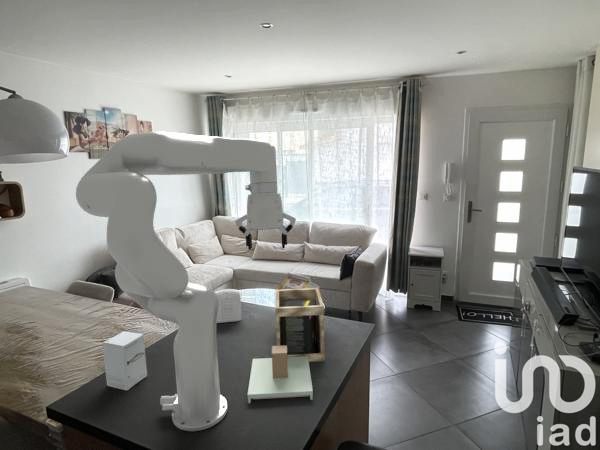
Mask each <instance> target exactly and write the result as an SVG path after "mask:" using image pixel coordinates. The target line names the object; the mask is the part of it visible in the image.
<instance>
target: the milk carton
mask: <svg viewBox="0 0 600 450" xmlns="http://www.w3.org/2000/svg"><path fill="white" fill-rule="evenodd" d="M308 288H318V289H319V292H320V293H321V291H320V290H321V289H320V288H321V287H320V286H319V285H318V284H316V283H315V282H312V281H311V277H309V276H305V275H301V274H296V273H292V272H287V277H286V278H285V279H284V280H283V281H282V283H281V284H280V285H279V286H278V289H277V290H284V289H308Z"/></svg>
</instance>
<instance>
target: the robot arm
mask: <svg viewBox="0 0 600 450" xmlns="http://www.w3.org/2000/svg"><path fill="white" fill-rule="evenodd" d="M246 172H247V173H248V172H249V184H247V185H246V184H245V185H244V187H245V188H244V189H245V190H246V191H249V192H250V193H249V194H247V199H246V200H247V202H246V214H244V215H242V216H241V217H239V218H237V219H236V220H235V221H234V224H235V225H236V226H237V228H238V230H239V231H240V232H241V233H242V234H243V235H244V236H245V245H246V247H248V250H252V249H253V239H252V238H253V237H252V233H251V232H252V231H258V230H259V231H260V230H261V231H262V230H264V231H266V230H278V229H279V231H280V232H281V248H282V249H285V248H286V246H287V245H288V236H287V235H288V234H289V232H290V231H291V230H292V229H293V227H294V226H295V223H296V221H297V219H296V217H294V216H292V215H290V214H287V213H285V212H284V208H283V202H282V197H281V193H280V192H278V175H277V172H278V171H277V151H276V147H275V145H274V144H272V143H270V142H268V141H266V140H263V139H262V140H261V139H260V140H259V139H251V138H235V137H233V138H232V137H223V136H210V135H198V134H189V133H180V132H168V131H148V132H140V133H132V134H128V135H126V136H124V137H123V138H121V139H119V140H118V141H117V142H116V143H115V144H114V145H113V146H112V147H111V148H110V149H109V150H108V151H106V153H105V154H104V155H102V156H101V158H100V159H98V161H97V162H96V163H94V165H93V166H91V168H89V169H88V170H87V171H86V172H85V173H84V174H83V176H82V177H81V178H80V180H79V182H78V183H77V186H76V188H75V199H76V202H77V204H78V205H79V206H80V208H81V209H82V211H84V212H86V213H87V214H90V215H92V216H94V217H99V218H100V217H101V218H107V225H106V247H107V250H108V253H109V254H110V256H111V258H113V260H114V261H115V262H116V265H115V270H114V276H115V281H116V283H117V285H118V287H119V288H120V290H121V291H123V293H124V294H126V295H127V296H128V297H129V298H130V299H132V300H133V301H134V302H135V303H136V304H137V305H139V306H140V307H141V308H142V309H143V310H144V311H146V312H147V313H148V314H149V315H151V316H153V317H155V318H158V319H161V320H163V321H167V322H171V323H173V324H175V325H177V326H178V330H177V333H176V335H175V337H174V340H173V346H172V347H173V349H172V351H173V357H174V358H173V359H174V369H175V381H176V392H177V393H175V394H174V395H161V396H160V399H159V402H160V403H159V405H160V406H162V407H161V409H162V411H172V413H171V418H172V419H171V420H172V423H173V425H174V426H175V427H176V428H177V429H179V430H181V431H182V430H183V431H186V432H197V431H203V430H206V429H210V428H212V427H213V426H215V425H217V424H218V423H219V422H221V421H222V420H223V419H224V418H225V416H226V414H227V413H228V401H227V399H226V397H224V396H223V395H222V394H221V389H220V375H219V374H220V372H219V357H218V346H217V345H218V343H217V342H218V341H217V324H218V323H217V316H218V309H219V301H218V297H217V295H216V293H215V292H216V291H215V290H213V289H212V288H211V287H209V286H207V285H205V284H201V283H198V282H192V281H189V273H188V271H187V269H186V267H185V265H184V263H182V262H181V260H180V259H179V258H178V257H177V256H176V255H175V254H174V253H173V252H172V251H171V250H170V249H169V248H168V246H167V245H166V244H165V243H164V241H163V240H161V238H160V237H159V236H158V234H157V233H156V230H155V227H154V219H155V213H156V207H157V202H158V201H157V199H158V197H157V196H158V195H157V190H156V188H155V185H154V183H153V181H151V180H150V178H148V177H147V176H151V175H153V176H155V175H156V176H176V175H177V176H180V175H181V176H182V175H184V176H185V175H186V176H187V175H220V174H227V173H246ZM284 219H285V220H287V221H289V224H288V225H287V226H286V227H285V225H284ZM244 221H246V225H247V228H246V227H244V225H243V224H242V223H243V222H244Z"/></svg>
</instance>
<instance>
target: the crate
mask: <svg viewBox="0 0 600 450" xmlns="http://www.w3.org/2000/svg"><path fill="white" fill-rule="evenodd" d="M288 299H297V300H315V306H292V307H284V305H285V304H286V302H287V301H288ZM274 311H275V328H276V329H275V331H276V334H275V335H276V346H282V337H281V317H283V316H306V315H316V344H317V345H318V353H315V352H314V353H313V354H295V355H287V357H302V356H308V361H309V363H312V362H325V359H326V358H325V356H326V354H325V305H324V302H323V298H322V295H321V291H320V292H319V289H318V288H308V289H284V290H278V289H276V290H275V310H274Z"/></svg>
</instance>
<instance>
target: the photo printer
mask: <svg viewBox="0 0 600 450" xmlns="http://www.w3.org/2000/svg"><path fill="white" fill-rule="evenodd" d="M214 292H215V293H216V295H217V297H218V301H219V309H218V316H217V324H220V323H221V324H222V323H231V322H232V323H233V322H240V321H241V320H242V301H241V300H242V299H241V294H240V290H239V289H236V288H235V289H234V288H224V289H220V290H217V291H214Z"/></svg>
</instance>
